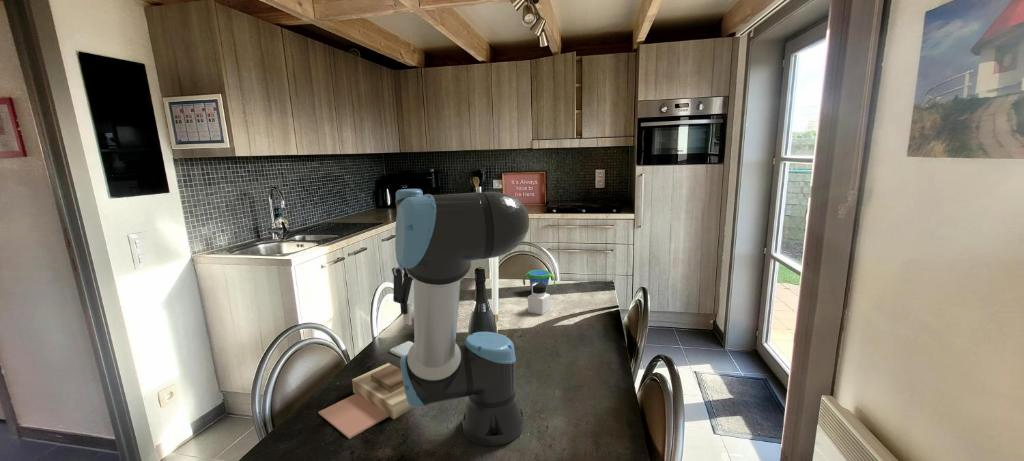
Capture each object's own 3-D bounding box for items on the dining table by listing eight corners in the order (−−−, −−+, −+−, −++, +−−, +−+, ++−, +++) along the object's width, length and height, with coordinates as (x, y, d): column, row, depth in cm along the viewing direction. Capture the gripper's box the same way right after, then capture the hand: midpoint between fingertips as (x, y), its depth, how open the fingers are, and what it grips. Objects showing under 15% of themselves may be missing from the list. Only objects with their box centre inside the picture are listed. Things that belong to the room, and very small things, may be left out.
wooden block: (412, 381, 115) (412, 375, 115) (391, 393, 110) (390, 386, 109) (392, 370, 121) (391, 364, 121) (371, 380, 116) (370, 374, 116)
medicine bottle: (550, 309, 176) (550, 282, 174) (542, 315, 170) (542, 287, 168) (536, 306, 180) (535, 280, 178) (527, 312, 174) (527, 285, 172)
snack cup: (557, 290, 201) (557, 270, 199) (552, 297, 191) (551, 276, 189) (527, 287, 206) (526, 268, 204) (520, 294, 196) (520, 274, 195)
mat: (389, 416, 106) (389, 414, 106) (349, 439, 98) (349, 437, 98) (357, 394, 116) (356, 393, 116) (318, 413, 108) (318, 411, 108)
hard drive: (389, 349, 142) (411, 359, 134) (409, 340, 148) (431, 349, 140) (390, 353, 142) (412, 364, 134) (409, 344, 148) (431, 354, 140)
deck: (430, 397, 114) (429, 384, 113) (393, 419, 105) (392, 405, 104) (389, 374, 127) (388, 362, 126) (353, 392, 118) (352, 379, 117)
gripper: (431, 236, 126) (436, 306, 130) (374, 248, 112) (381, 327, 116) (448, 238, 122) (452, 312, 126) (390, 251, 107) (397, 334, 111)
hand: (418, 319), depth 121 cm, fingers open, 7 cm apart
